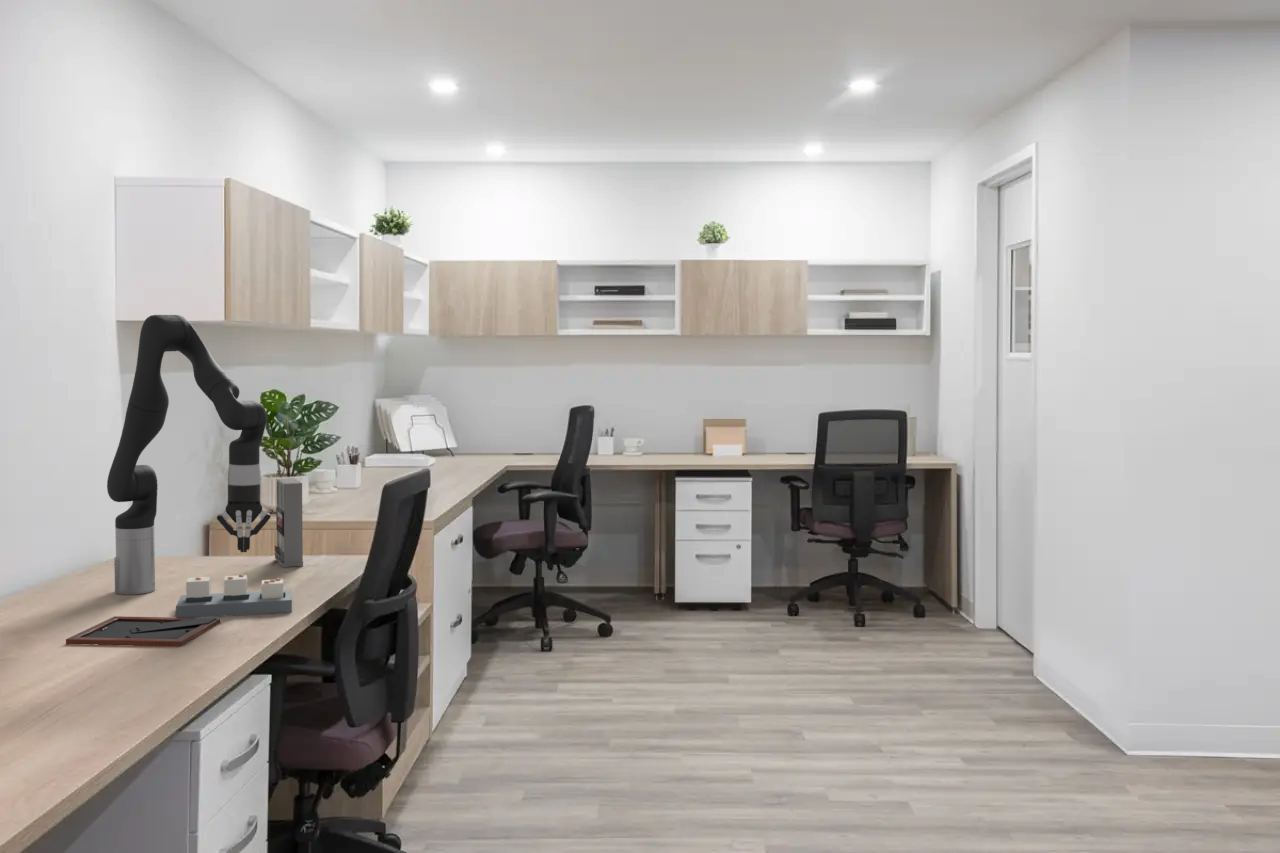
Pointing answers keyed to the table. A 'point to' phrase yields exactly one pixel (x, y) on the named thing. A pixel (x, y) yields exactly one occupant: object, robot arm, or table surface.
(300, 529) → the tall grey labeled box
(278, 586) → the tile three
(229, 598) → the board
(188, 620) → the picture frame
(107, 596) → the table surface
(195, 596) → the tile one
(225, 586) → the tile two
